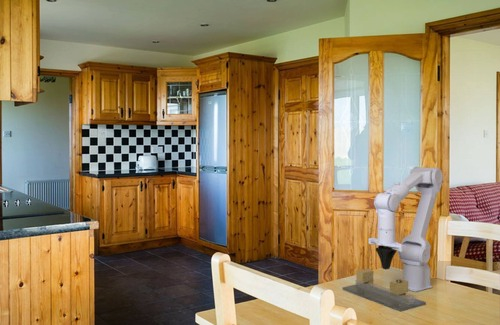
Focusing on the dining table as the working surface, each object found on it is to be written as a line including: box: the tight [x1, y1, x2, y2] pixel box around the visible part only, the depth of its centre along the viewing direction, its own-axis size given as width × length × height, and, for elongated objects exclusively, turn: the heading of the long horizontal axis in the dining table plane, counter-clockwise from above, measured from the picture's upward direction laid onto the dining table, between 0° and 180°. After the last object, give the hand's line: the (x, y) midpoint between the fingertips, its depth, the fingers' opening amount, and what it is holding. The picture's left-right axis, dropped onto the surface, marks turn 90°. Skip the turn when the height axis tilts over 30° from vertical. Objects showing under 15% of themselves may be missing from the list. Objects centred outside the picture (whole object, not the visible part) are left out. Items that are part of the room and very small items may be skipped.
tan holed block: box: [389, 278, 409, 295], centre depth 158 cm, size 6×3×6 cm, turn 122°
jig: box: [342, 268, 426, 312], centre depth 163 cm, size 12×26×7 cm, turn 32°
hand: (386, 268), depth 162 cm, fingers closed
